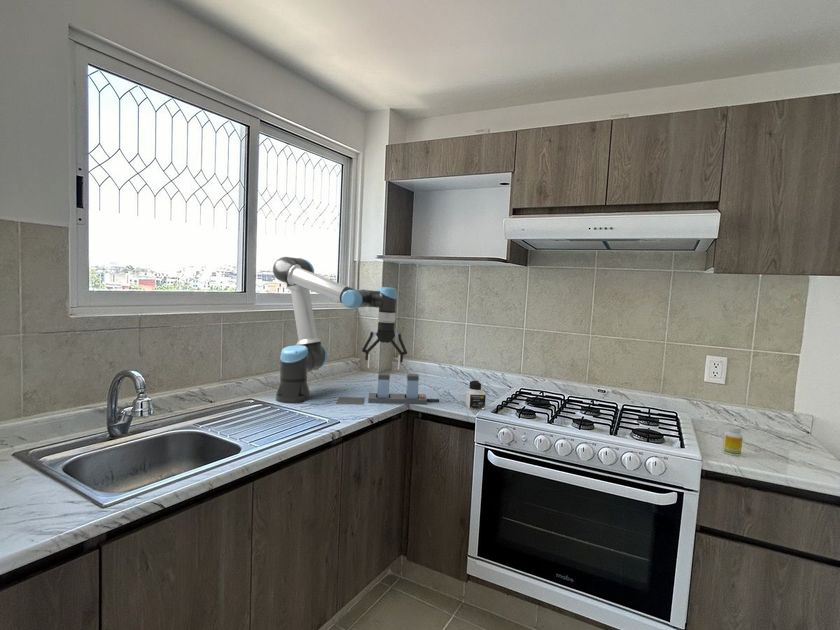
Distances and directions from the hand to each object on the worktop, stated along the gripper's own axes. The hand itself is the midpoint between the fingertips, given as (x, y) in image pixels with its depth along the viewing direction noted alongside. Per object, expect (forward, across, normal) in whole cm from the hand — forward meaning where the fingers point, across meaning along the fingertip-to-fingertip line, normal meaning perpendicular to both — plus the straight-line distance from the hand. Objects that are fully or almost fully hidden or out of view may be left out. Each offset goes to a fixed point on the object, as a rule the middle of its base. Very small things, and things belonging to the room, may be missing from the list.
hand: (383, 368), depth 202 cm
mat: (+16, -14, 0) cm, 21 cm away
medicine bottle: (+15, +42, -4) cm, 45 cm away
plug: (+14, +1, 0) cm, 15 cm away
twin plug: (+14, +14, 0) cm, 20 cm away
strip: (+15, +10, 0) cm, 18 cm away
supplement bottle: (+12, +124, -54) cm, 136 cm away
